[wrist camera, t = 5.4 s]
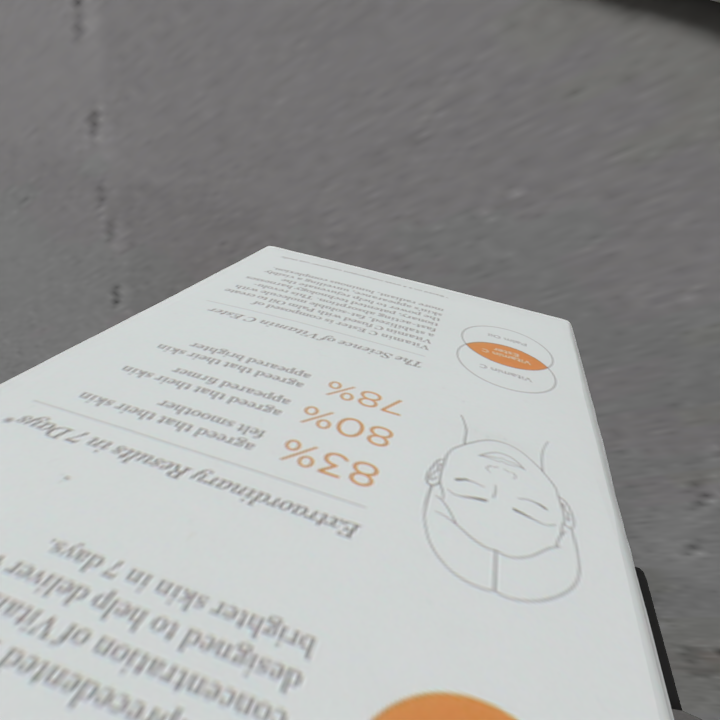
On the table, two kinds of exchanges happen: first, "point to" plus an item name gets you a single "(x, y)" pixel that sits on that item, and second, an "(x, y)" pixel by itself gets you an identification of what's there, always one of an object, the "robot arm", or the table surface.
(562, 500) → the small box
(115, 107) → the table surface
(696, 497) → the table surface
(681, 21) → the table surface
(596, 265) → the table surface
